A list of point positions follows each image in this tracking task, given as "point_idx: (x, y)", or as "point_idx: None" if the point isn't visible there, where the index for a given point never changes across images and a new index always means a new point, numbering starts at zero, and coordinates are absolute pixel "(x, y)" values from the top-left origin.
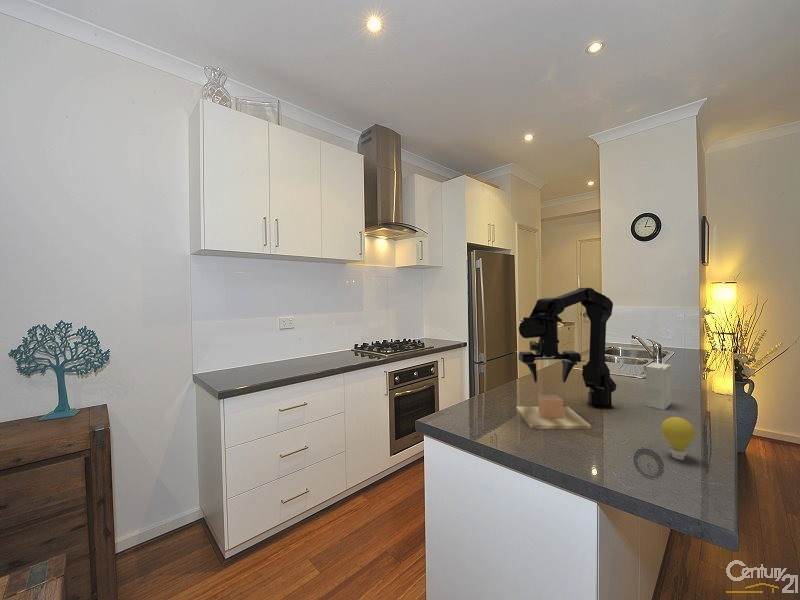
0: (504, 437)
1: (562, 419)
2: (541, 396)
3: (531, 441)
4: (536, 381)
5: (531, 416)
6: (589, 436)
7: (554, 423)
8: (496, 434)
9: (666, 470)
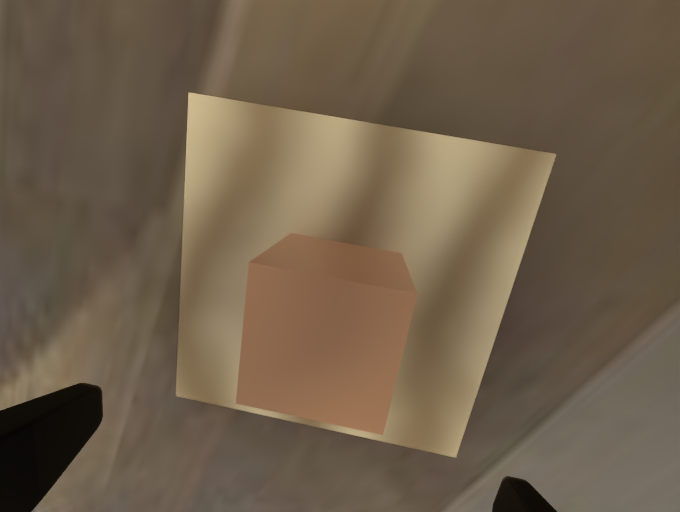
0: None
1: None
2: (257, 311)
3: (150, 484)
4: (81, 446)
5: (221, 290)
6: (389, 498)
7: None
8: None
9: None
